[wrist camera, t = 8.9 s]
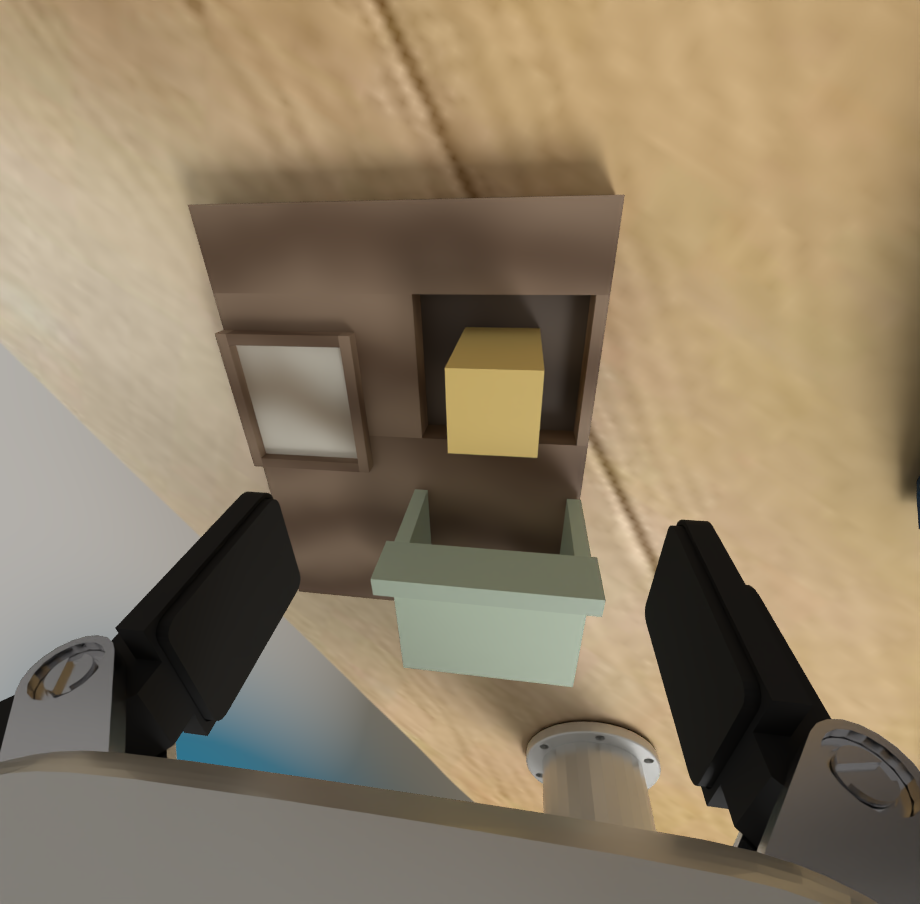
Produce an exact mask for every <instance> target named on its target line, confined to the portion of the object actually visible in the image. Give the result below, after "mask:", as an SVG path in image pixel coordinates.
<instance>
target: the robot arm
mask: <svg viewBox="0 0 920 904" xmlns="http://www.w3.org/2000/svg"><path fill="white" fill-rule="evenodd" d="M300 580H301V577H300V572H299V569H298V565H297V562H296V559H295V555H294V552H293V548H292V545H291V542H290V538H289V535H288V531H287V528H286V525H285V521H284V518H283V514H282V511H281V508H280V504H279V502H278V501H277V500H275V499H273V496H272V495H271V494H269V493H259V492H245V493H243V494H242V495H241V496H240V497H239V498H238V499H237V500H236V501H235V502H234V503H233V504H232V505H231V506H230V507H229V508H228V509H227V510H226V512H225V513H224V514H223V515H222V516H221V517H220V518H219V519H218V520H217V521H216V522H215V523H214V524H213V525H212V526H211V527H210V528H209V530H208V531H207V532H206V533H205V534H204V535H203V536H202V537H201V538H200V539H199V540H198V541H197V542H196V543H195V544H194V545H193V547H192V548H191V549H190V550H189V551H188V552H187V553H186V554H185V555H184V556H183V557H182V558H181V559H180V560H179V561H178V562H177V563H176V565H174V567H173V568H172V569H171V570H170V571H169V572H168V573H167V574H166V575H165V576H164V577H163V578H162V579H161V580H160V581H159V583H157V585H156V586H155V587H154V588H153V589H152V590H151V591H150V592H149V593H148V594H147V595H146V596H145V597H144V598H143V599H142V600H141V601H140V602H139V603H138V605H137V606H136V607H135V608H134V609H133V610H132V611H131V612H130V613H129V614H128V615H127V616H126V617H125V618H124V619H123V620H122V621H121V623H120V624H119V625H118V626H117V627H116V630H117V631H118V634H117V635H116V637H114V639H113V640H112V641H110V640H109V639H108V638H107V637H103V636H98V635H96V636H85V637H82V638H79V639H76V640H72V641H70V642H68V643H66V644H64V645H62V646H60V647H57V648H56V649H54V650H53V651H51V652H50V653H48V654H47V655H45V656H44V657H42V658H41V659H40V660H39V661H38V662H37V663H36V664H34V665H33V666H32V667H31V668H30V669H29V670H28V672H27V673H26V674H25V675H24V677H23V678H22V679H21V681H20V683H19V685H18V687H17V690H16V692H15V695H14V696H12V697H9V698H7V699H5V700H3V701H1V702H0V904H920V771H919V770H918V769H917V767H916V766H915V765H914V763H913V762H912V761H911V760H910V759H908V758H907V757H906V756H905V755H904V754H903V753H902V752H901V751H900V750H899V749H898V748H897V747H896V746H894V745H893V744H891V743H890V742H889V741H887V740H886V739H884V738H883V737H882V736H880V735H879V734H877V733H875V732H873V731H871V730H869V729H867V728H865V727H863V726H861V725H859V724H856V723H852V722H849V721H845V720H841V719H831V718H830V716H829V714H828V713H827V711H826V709H825V707H824V706H823V704H822V702H821V701H820V699H819V697H818V695H817V694H816V692H815V690H814V689H813V687H812V685H811V683H810V682H809V680H808V678H807V677H806V675H805V673H804V671H803V670H802V668H801V666H800V664H799V663H798V661H797V659H796V658H795V656H794V654H793V652H792V651H791V649H790V647H789V646H788V644H787V642H786V640H785V639H784V637H783V635H782V634H781V632H780V630H779V628H778V627H777V625H776V623H775V622H774V620H773V618H772V616H771V615H770V613H769V611H768V610H767V608H766V606H765V604H764V603H763V601H762V599H761V598H760V596H759V594H758V593H757V592H756V590H755V589H754V588H752V587H751V586H750V585H745V583H744V581H743V579H742V577H741V576H740V574H739V572H738V570H737V569H736V567H735V565H734V563H733V561H732V560H731V558H730V556H729V554H728V553H727V551H726V549H725V547H724V546H723V544H722V542H721V540H720V538H719V537H718V535H717V533H716V531H715V530H714V528H713V526H712V525H711V523H710V522H708V521H694V520H680V521H679V522H678V523H677V525H676V526H670V527H669V529H668V531H667V535H666V538H665V541H664V545H663V548H662V552H661V555H660V558H659V562H658V565H657V568H656V572H655V575H654V579H653V582H652V585H651V589H650V592H649V596H648V599H647V602H646V606H645V619H646V624H647V627H648V631H649V634H650V638H651V641H652V645H653V648H654V652H655V656H656V659H657V663H658V666H659V670H660V673H661V677H662V680H663V684H664V688H665V691H666V695H667V698H668V702H669V705H670V709H671V712H672V716H673V719H674V723H675V727H676V730H677V734H678V737H679V741H680V744H681V748H682V751H683V755H684V759H685V762H686V766H687V769H688V773H689V776H690V778H691V780H692V782H693V784H694V785H696V786H701V788H702V791H703V794H704V798H705V801H706V805H707V806H711V807H718V808H725V809H729V812H730V815H731V818H732V821H733V824H734V827H735V828H736V829H737V830H739V833H738V836H737V838H736V840H735V843H734V845H733V846H729V845H725V844H720V843H716V842H711V841H707V840H702V839H696V838H690V837H685V836H679V835H673V834H667V833H662V832H656V827H655V822H654V818H653V813H652V808H651V803H650V798H649V793H648V789H649V788H650V787H652V786H653V785H654V784H655V783H656V781H657V780H658V778H659V777H660V772H661V768H660V763H659V758H658V755H657V752H656V750H655V749H654V748H653V746H652V745H651V744H650V743H649V742H648V741H646V740H645V739H644V738H643V737H641V736H639V735H638V734H636V733H634V732H632V731H630V730H627V729H625V728H622V727H618V726H615V725H611V724H605V723H599V722H584V721H582V722H569V723H563V724H558V725H555V726H551V727H548V728H546V729H544V730H542V731H540V732H539V733H538V734H536V735H535V736H534V737H533V738H532V739H531V740H530V742H529V743H528V746H527V749H526V762H527V766H528V769H529V770H530V772H531V774H532V775H533V776H534V777H535V778H536V779H537V780H538V781H540V782H541V783H543V808H544V813H538V812H532V811H525V810H519V809H512V808H506V807H499V806H493V805H486V804H480V803H473V802H467V801H460V800H453V799H447V798H440V797H433V796H427V795H420V794H413V793H407V792H400V791H393V790H386V789H379V788H373V787H365V786H359V785H353V784H346V783H339V782H332V781H326V780H319V779H311V778H304V777H298V776H291V775H284V774H277V773H270V772H263V771H256V770H249V769H242V768H235V767H228V766H221V765H214V764H207V763H200V762H193V761H185V760H177V759H176V743H175V742H176V741H177V739H178V738H179V736H180V734H181V733H182V732H183V731H184V733H191V734H198V735H205V736H208V734H209V733H210V731H211V729H212V727H213V726H214V724H215V722H216V721H219V720H221V719H222V718H223V717H224V716H225V715H226V713H227V712H228V710H229V709H230V707H231V705H232V703H233V701H234V700H235V698H236V696H237V695H238V693H239V691H240V689H241V688H242V686H243V684H244V682H245V681H246V679H247V677H248V676H249V674H250V672H251V670H252V669H253V667H254V665H255V663H256V662H257V660H258V658H259V656H260V655H261V653H262V651H263V649H264V648H265V646H266V644H267V642H268V641H269V639H270V637H271V636H272V634H273V632H274V630H275V629H276V627H277V625H278V623H279V622H280V620H281V618H282V617H283V615H284V613H285V611H286V610H287V608H288V606H289V604H290V603H291V601H292V599H293V597H294V596H295V594H296V592H297V590H298V588H299V585H300Z"/></svg>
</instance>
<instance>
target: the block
mask: <svg viewBox="0 0 920 904" xmlns="http://www.w3.org/2000/svg"><path fill="white" fill-rule="evenodd" d="M543 382H544V361H543V352H542V342H541V332H540V328H489V327H465V329H464V331H463V333H462V335H461V337H460V339H459V341H458V343H457V345H456V347H455V349H454V351H453V353H452V355H451V357H450V359H449V361H448V363H447V365H446V367H445V388H446V415H447V442H448V453H454V454H473V455H493V456H512V457H531V458H537V455H538V443H539V431H540V419H541V407H542V395H543Z"/></svg>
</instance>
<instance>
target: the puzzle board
mask: <svg viewBox="0 0 920 904" xmlns="http://www.w3.org/2000/svg"><path fill="white" fill-rule="evenodd" d="M624 196H625V195H591V196H548V197H505V198H462V199H419V200H377V201H334V202H291V203H248V204H205V205H188V207H189V210H190V214H191V217H192V221H193V224H194V227H195V231H196V234H197V238H198V241H199V245H200V248H201V252H202V255H203V259H204V262H205V266H206V269H207V273H208V276H209V280H210V283H211V286H212V290H213V293H214V297H215V300H216V304H217V307H218V311H219V314H220V318H221V321H222V325H223V328H224V330H223V331H220V332H218V333H216V334H215V336H216V339H217V343H218V346H219V349H220V353H221V356H222V359H223V363H224V366H225V369H226V373H227V376H228V379H229V383H230V386H231V389H232V393H233V396H234V399H235V403H236V406H237V409H238V413H239V416H240V419H241V423H242V426H243V429H244V433H245V436H246V439H247V443H248V446H249V449H250V453H251V456H252V459H253V463H254V466H262V467H264V470H265V474H266V477H267V481H268V484H269V488H270V491H271V495H272V496H273V499H275V500H277V501H278V502H279V504H280V508H281V511H282V514H283V518H284V521H285V525H286V528H287V531H288V535H289V538H290V542H291V545H292V548H293V552H294V555H295V559H296V562H297V565H298V569H299V572H300V577H301V580H300V585H299V588H298V589H299V591H301V592H311V593H321V594H332V595H342V596H352V597H363V598H373V599H383V600H394V597H388V596H378V595H373V591H372V585H371V577H372V574H373V572H374V569H375V567H376V565H377V562H378V560H379V557H380V555H381V553H382V550H383V548H384V546H385V543H386V541H395V538H396V536H397V533H398V531H399V528H400V526H401V523H402V521H403V518H404V516H405V513H406V511H407V508H408V505H409V503H410V500H411V498H412V495H413V493H414V490H415V489H420V490H428V503H429V518H430V533H431V544H432V545H445V546H458V547H470V548H483V549H496V550H508V551H521V552H533V553H546V554H559V555H560V548H561V541H562V533H563V525H564V517H565V510H566V502H567V499H578V500H580V495H581V488H582V481H583V474H584V468H585V461H586V454H587V447H588V440H589V434H590V427H591V420H592V413H593V406H594V400H595V393H596V386H597V379H598V372H599V366H600V359H601V352H602V345H603V339H604V332H605V325H606V318H607V311H608V305H609V298H610V291H611V284H612V277H613V271H614V264H615V257H616V250H617V243H618V237H619V230H620V223H621V216H622V209H623V203H624ZM465 327H489V328H540V332H541V342H542V352H543V361H544V382H543V395H542V407H541V419H540V431H539V443H538V455H537V458H531V457H512V456H493V455H473V454H454V453H448V442H447V415H446V388H445V367H446V365H447V363H448V361H449V359H450V357H451V355H452V353H453V351H454V349H455V347H456V345H457V343H458V341H459V339H460V337H461V335H462V333H463V331H464V329H465Z"/></svg>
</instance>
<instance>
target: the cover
mask: <svg viewBox="0 0 920 904" xmlns="http://www.w3.org/2000/svg"><path fill="white" fill-rule="evenodd" d="M371 585H372V591H373V595H378V596H388V597H394V601H395V608H396V615H397V623H398V630H399V638H400V645H401V652H402V660H403V667H404V668H413V669H421V670H430V671H438V672H447V673H456V674H464V675H473V676H481V677H490V678H498V679H507V680H516V681H524V682H533V683H541V684H550V685H558V686H567V687H573V683H574V678H575V673H576V667H577V662H578V657H579V651H580V646H581V641H582V635H583V630H584V625H585V619H586V615H587V616H597V617H602V615H603V610H604V605H605V601H606V600H605V595H604V590H603V585H602V580H601V575H600V570H599V565H598V560H597V557H591V554H590V548H589V542H588V537H587V531H586V526H585V520H584V515H583V509H582V504H581V500H578V499H567V502H566V510H565V517H564V525H563V533H562V541H561V548H560V555H559V554H546V553H533V552H521V551H508V550H496V549H483V548H470V547H458V546H445V545H432V544H431V533H430V518H429V503H428V490H420V489H415V490H414V493H413V495H412V498H411V500H410V503H409V505H408V508H407V511H406V513H405V516H404V518H403V521H402V523H401V526H400V528H399V531H398V533H397V536H396V538H395V541H386V543H385V546H384V548H383V550H382V553H381V555H380V557H379V560H378V562H377V565H376V567H375V569H374V572H373V574H372V577H371Z"/></svg>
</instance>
